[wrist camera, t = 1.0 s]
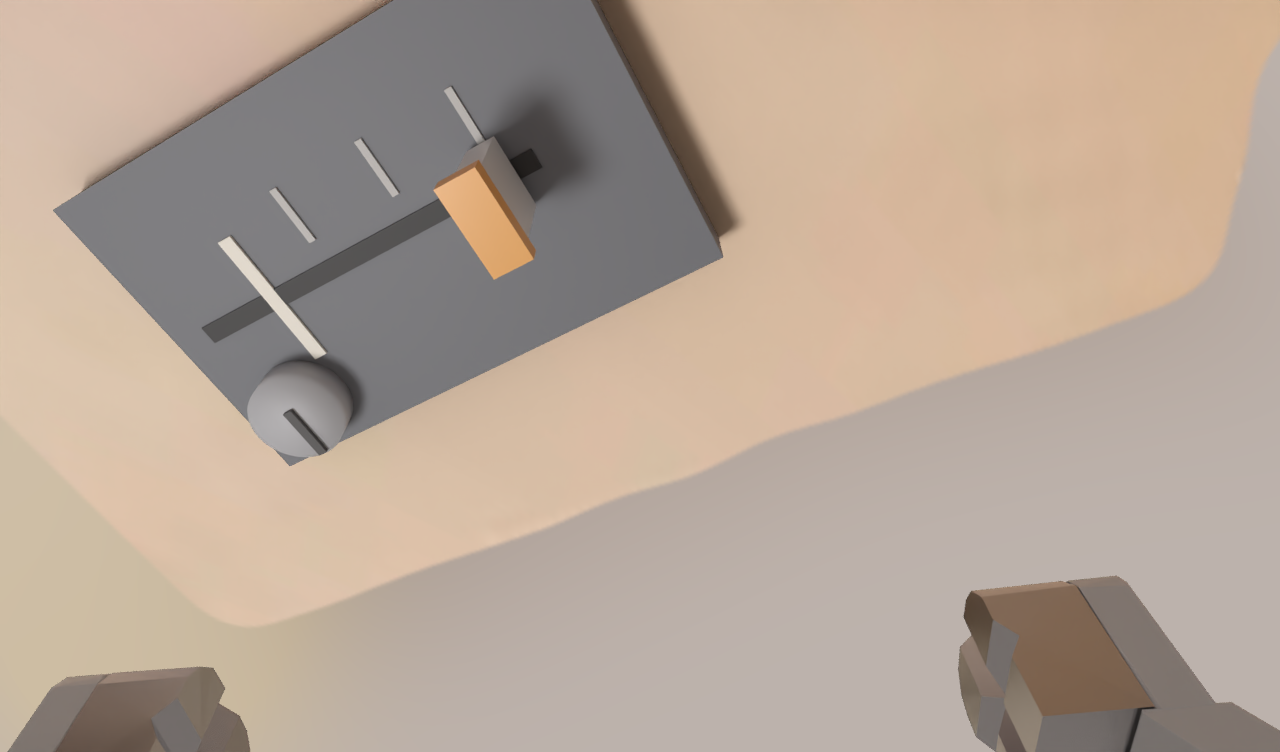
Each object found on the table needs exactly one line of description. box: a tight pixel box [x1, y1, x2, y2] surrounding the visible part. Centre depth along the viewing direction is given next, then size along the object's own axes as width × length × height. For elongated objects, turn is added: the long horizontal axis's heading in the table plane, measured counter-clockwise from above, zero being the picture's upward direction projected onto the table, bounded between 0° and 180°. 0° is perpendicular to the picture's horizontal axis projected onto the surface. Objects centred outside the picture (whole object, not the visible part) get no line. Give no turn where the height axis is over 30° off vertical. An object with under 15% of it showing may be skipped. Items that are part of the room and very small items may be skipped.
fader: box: [434, 136, 536, 280], centre depth 31 cm, size 2×4×5 cm, turn 28°
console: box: [53, 0, 723, 466], centre depth 34 cm, size 22×14×4 cm, turn 118°
